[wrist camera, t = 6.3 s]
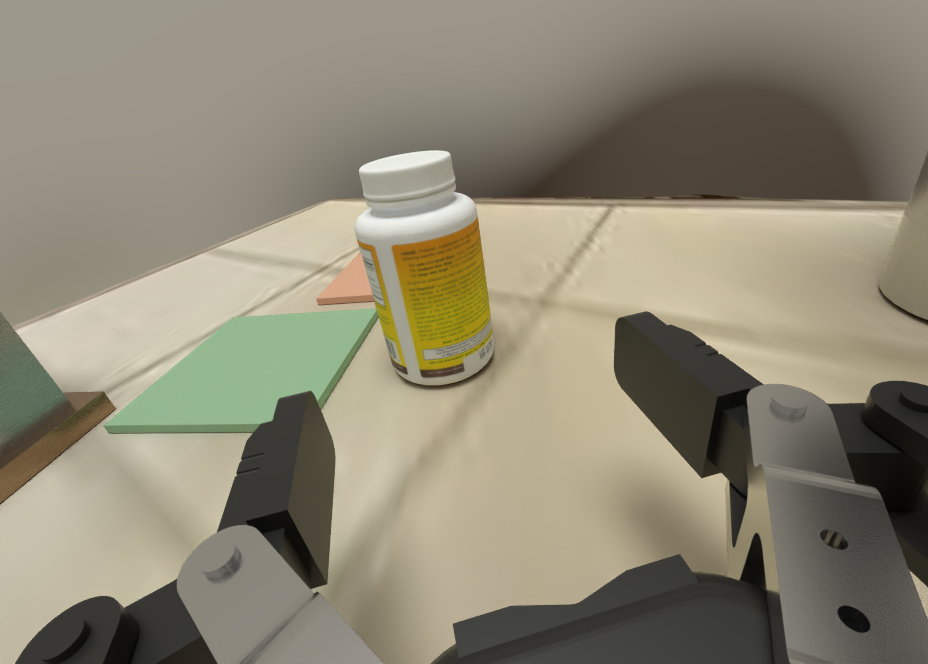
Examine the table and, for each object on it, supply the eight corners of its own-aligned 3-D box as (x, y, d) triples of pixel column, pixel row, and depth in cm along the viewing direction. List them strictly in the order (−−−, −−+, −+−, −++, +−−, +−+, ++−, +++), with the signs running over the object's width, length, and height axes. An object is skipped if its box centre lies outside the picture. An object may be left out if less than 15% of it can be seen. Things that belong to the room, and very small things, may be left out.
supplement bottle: (513, 341, 24) (493, 142, 19) (459, 402, 20) (416, 174, 15) (432, 325, 27) (396, 149, 22) (372, 376, 23) (310, 177, 18)
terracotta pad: (363, 254, 40) (362, 249, 40) (469, 245, 39) (468, 239, 38) (318, 304, 32) (316, 298, 32) (450, 295, 30) (449, 289, 30)
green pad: (235, 323, 31) (232, 317, 31) (379, 314, 29) (377, 308, 29) (108, 433, 22) (103, 425, 22) (306, 431, 20) (302, 423, 20)
